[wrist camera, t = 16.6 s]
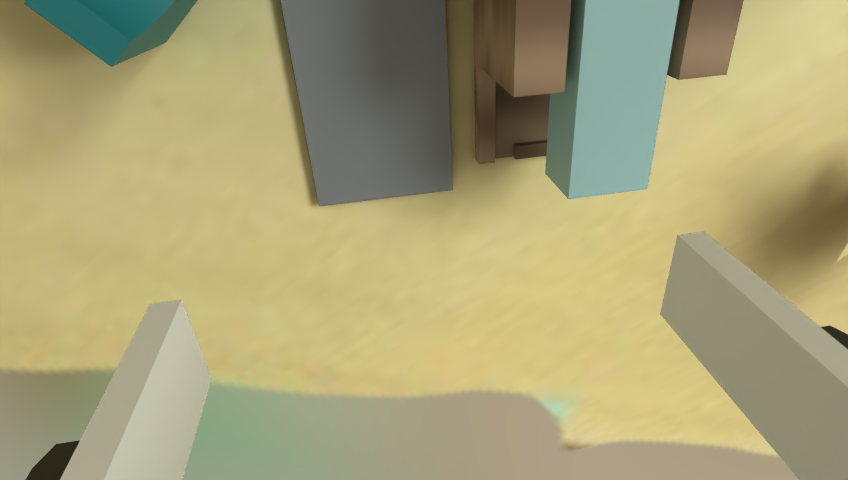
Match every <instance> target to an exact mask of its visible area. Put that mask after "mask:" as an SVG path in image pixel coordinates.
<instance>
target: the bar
mask: <svg viewBox="0 0 848 480" xmlns="http://www.w3.org/2000/svg"><path fill="white" fill-rule="evenodd" d="M679 1H680V0H571V11H570V25H569V38H568V52H567V65H566V79H565V92H559V93H550V104H549V121H548V137H547V154H546V171H545V174H546V175H547V176H548V177H549V178H550V179H551V180H552V181H553V182H554V184H555V185H556V186H557V187H558V188H559V189H560V190H561V191H562V192H563V194H564V195H565V196H566V197H567V198H568V199H574V198H582V197H590V196H597V195H605V194H613V193H621V192H629V191H637V190H644V189H647V188H648V182H649V176H650V170H651V165H652V159H653V153H654V147H655V141H656V135H657V130H658V124H659V118H660V112H661V106H662V100H663V95H664V89H665V83H666V77H667V71H668V65H669V60H670V54H671V48H672V42H673V36H674V30H675V25H676V19H677V13H678V7H679Z"/></svg>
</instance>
